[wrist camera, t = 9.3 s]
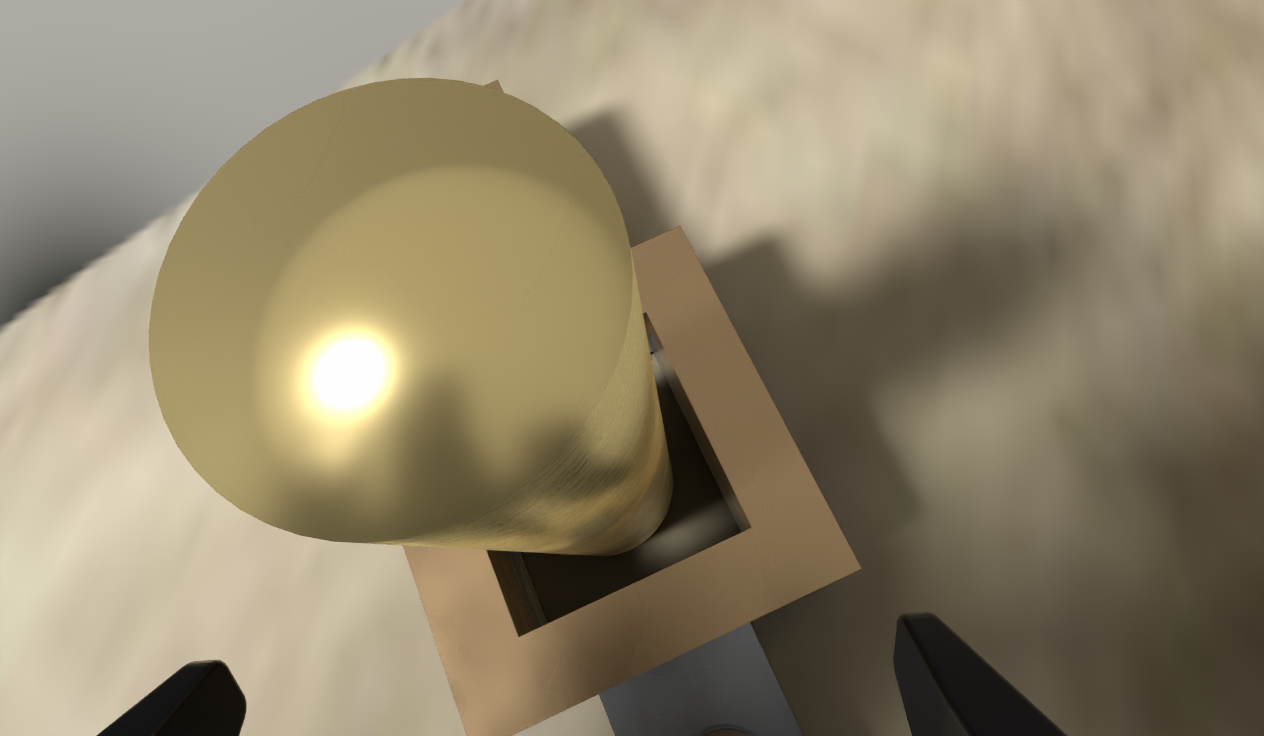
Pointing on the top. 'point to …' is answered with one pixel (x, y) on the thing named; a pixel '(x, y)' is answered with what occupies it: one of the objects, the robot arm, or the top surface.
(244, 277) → the brass pin
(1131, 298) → the top surface
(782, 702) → the square frame with handle
